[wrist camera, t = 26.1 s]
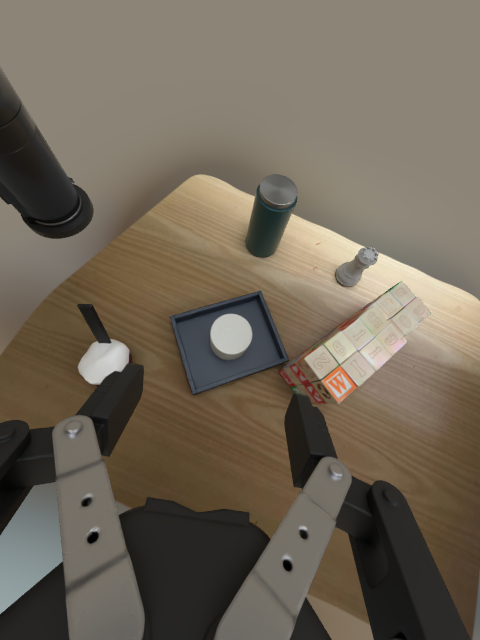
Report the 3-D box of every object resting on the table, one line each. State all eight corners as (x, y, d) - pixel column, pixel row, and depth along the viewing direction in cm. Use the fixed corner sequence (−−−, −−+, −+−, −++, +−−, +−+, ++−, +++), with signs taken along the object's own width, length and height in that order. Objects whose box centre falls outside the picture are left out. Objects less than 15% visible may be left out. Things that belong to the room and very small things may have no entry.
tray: (193, 395, 39) (192, 394, 36) (171, 321, 42) (169, 316, 40) (284, 362, 42) (289, 360, 40) (258, 296, 45) (261, 290, 43)
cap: (216, 365, 40) (218, 360, 35) (205, 330, 42) (204, 320, 37) (252, 353, 41) (258, 346, 37) (240, 319, 43) (244, 308, 38)
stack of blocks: (367, 303, 47) (418, 269, 36) (390, 330, 46) (452, 305, 34) (277, 371, 41) (303, 358, 30) (301, 404, 40) (339, 404, 29)
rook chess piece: (334, 264, 49) (357, 238, 42) (357, 268, 49) (384, 244, 42) (334, 285, 48) (357, 262, 40) (357, 289, 48) (384, 268, 40)
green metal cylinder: (252, 261, 47) (267, 210, 35) (241, 234, 49) (251, 176, 37) (281, 253, 49) (306, 201, 36) (270, 227, 50) (289, 169, 38)
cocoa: (120, 402, 37) (82, 400, 26) (80, 386, 37) (25, 377, 26) (151, 343, 41) (128, 318, 29) (113, 328, 41) (77, 298, 29)
